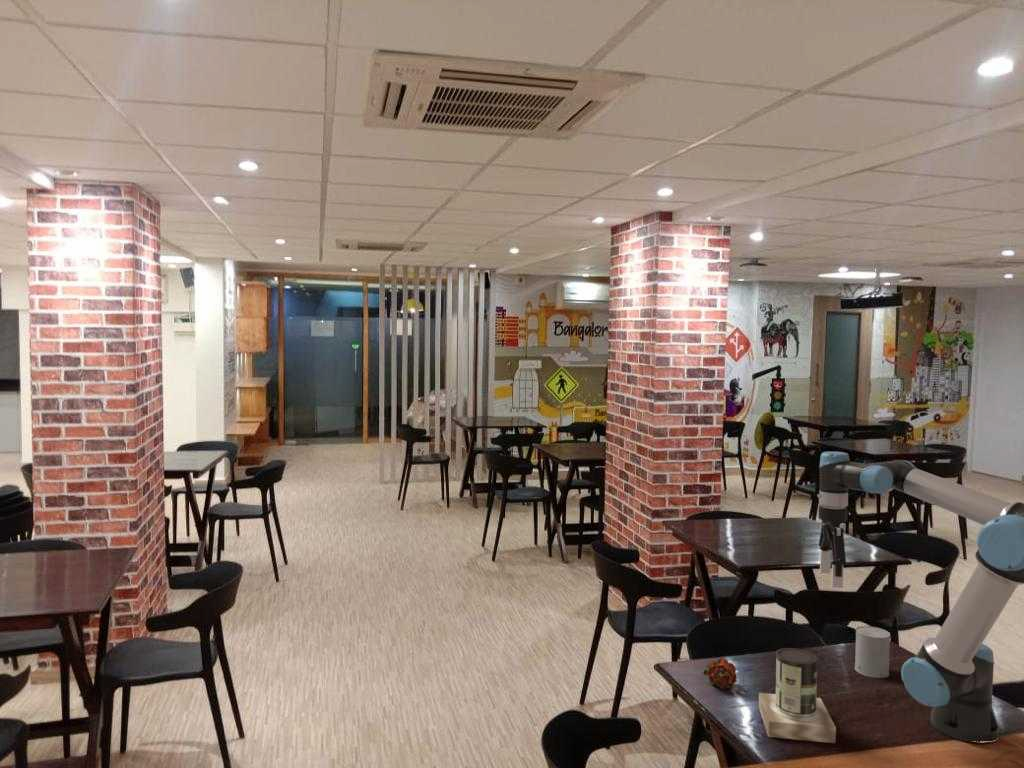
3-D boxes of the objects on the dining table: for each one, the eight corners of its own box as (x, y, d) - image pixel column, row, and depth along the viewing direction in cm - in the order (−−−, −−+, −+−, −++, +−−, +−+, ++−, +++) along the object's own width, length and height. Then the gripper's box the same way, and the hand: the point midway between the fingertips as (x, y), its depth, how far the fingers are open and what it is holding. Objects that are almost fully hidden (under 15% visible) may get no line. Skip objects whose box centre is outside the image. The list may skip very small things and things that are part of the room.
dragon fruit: (726, 701, 209) (711, 688, 221) (749, 682, 210) (733, 670, 222) (708, 676, 209) (694, 665, 221) (731, 657, 210) (716, 647, 222)
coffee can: (812, 701, 197) (813, 649, 196) (820, 719, 187) (821, 665, 186) (771, 697, 199) (773, 645, 198) (777, 715, 189) (778, 661, 188)
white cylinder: (850, 663, 231) (851, 625, 231) (882, 665, 230) (883, 627, 230) (860, 676, 222) (861, 636, 221) (894, 679, 221) (895, 638, 220)
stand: (820, 712, 199) (820, 697, 199) (835, 743, 184) (835, 726, 183) (758, 707, 202) (759, 692, 202) (768, 736, 186) (768, 720, 186)
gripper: (809, 497, 222) (807, 566, 223) (830, 515, 197) (827, 593, 198) (835, 498, 221) (833, 568, 222) (859, 516, 196) (857, 594, 197)
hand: (830, 580), depth 210 cm, fingers open, 13 cm apart
